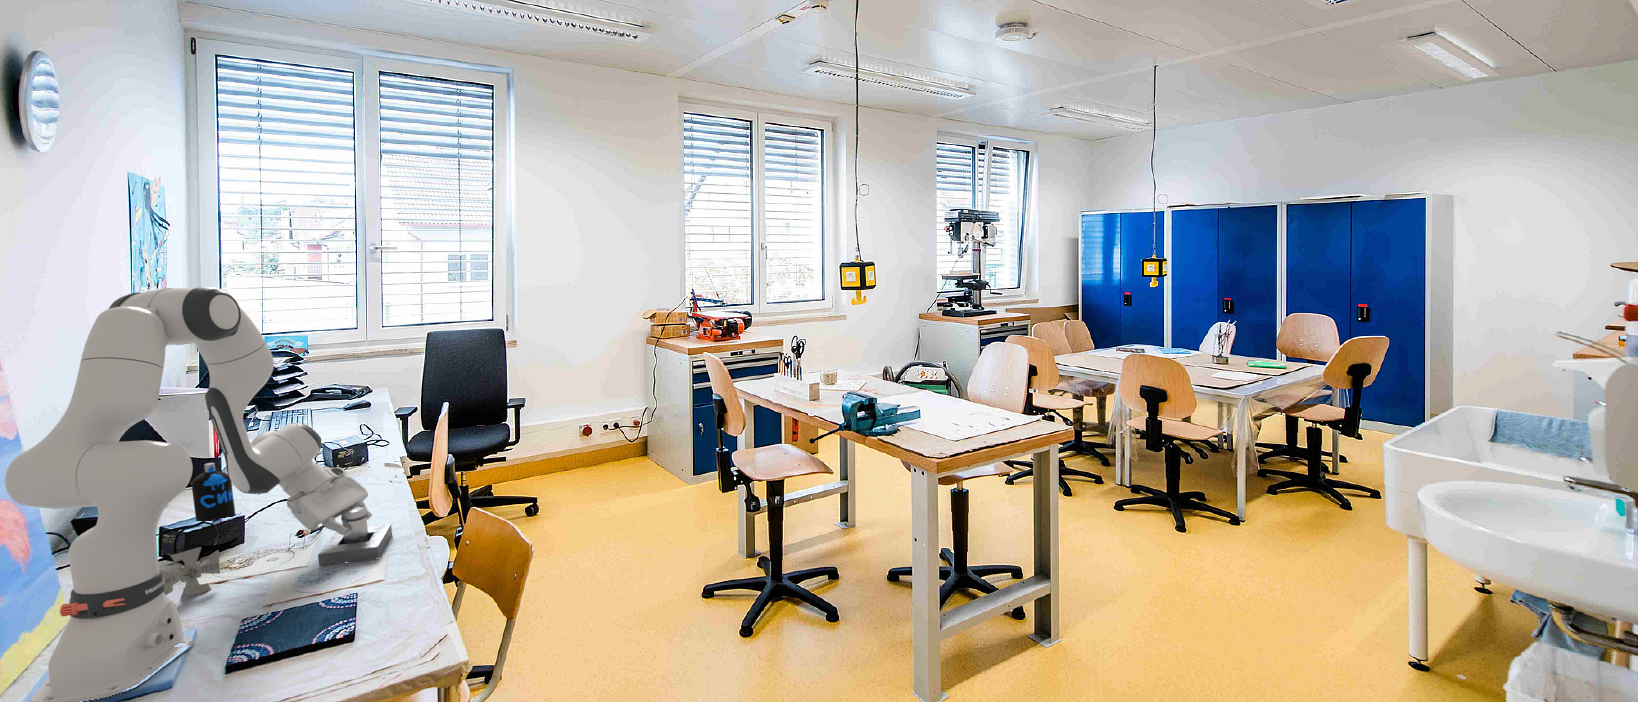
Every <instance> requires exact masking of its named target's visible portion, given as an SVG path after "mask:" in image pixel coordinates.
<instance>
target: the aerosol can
mask: <svg viewBox="0 0 1638 702" xmlns="http://www.w3.org/2000/svg"><path fill="white" fill-rule="evenodd" d="M215 464H216V463H215V462H208V463H205V464H203V466H204V472H203V473H200V474H199V475H197V476H196V477H194V478H193V480H192V481H191V482H189V485H190V486H191V490H192V499H193V506H194V514H195V522H196V521H212V520H214V519H219V518H226V517H233V516H236V507H235V499H234V493H233V483H232V482H231V480H230V478H229V476H228V473H227V472H223V471H217V470H216V465H215Z"/></svg>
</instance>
